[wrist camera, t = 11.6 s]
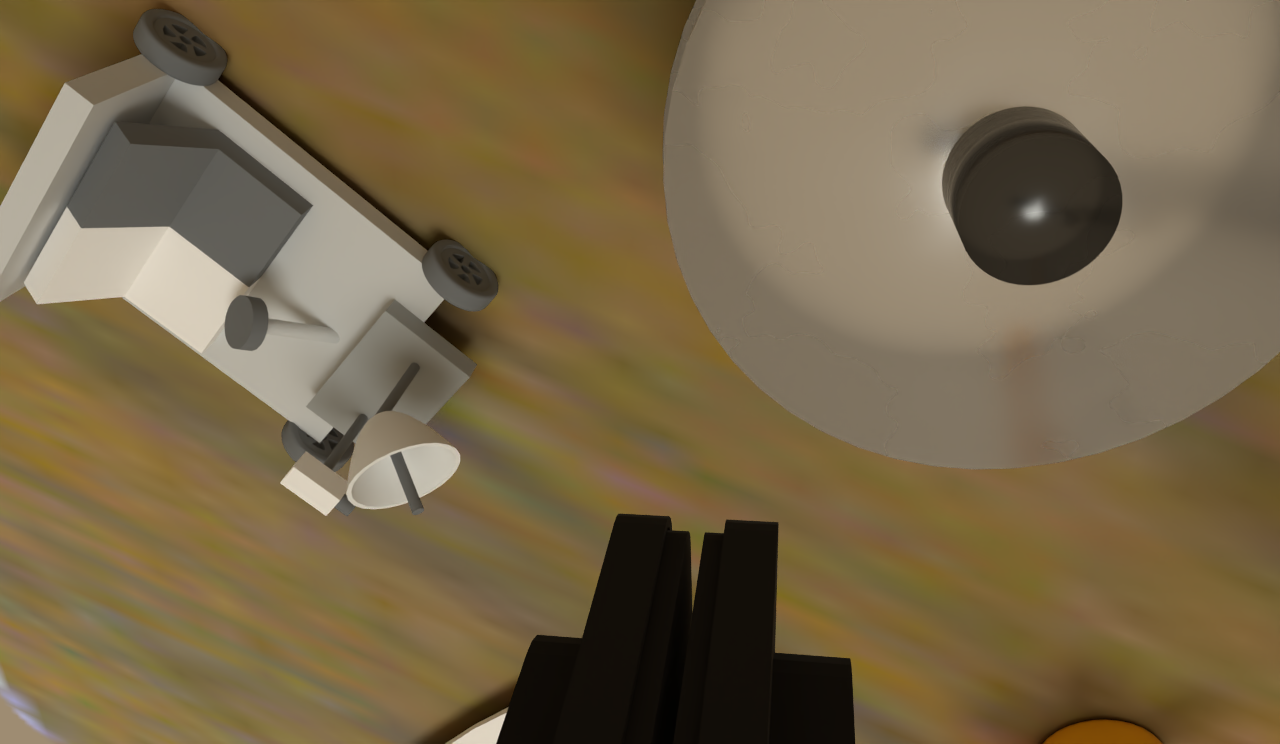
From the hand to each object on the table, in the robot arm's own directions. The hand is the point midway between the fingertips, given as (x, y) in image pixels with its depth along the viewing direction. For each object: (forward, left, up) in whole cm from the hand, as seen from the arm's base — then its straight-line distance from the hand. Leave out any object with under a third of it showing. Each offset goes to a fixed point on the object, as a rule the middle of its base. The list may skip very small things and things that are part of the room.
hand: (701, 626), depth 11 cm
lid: (-6, 0, -16) cm, 17 cm away
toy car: (+19, +8, -27) cm, 34 cm away
